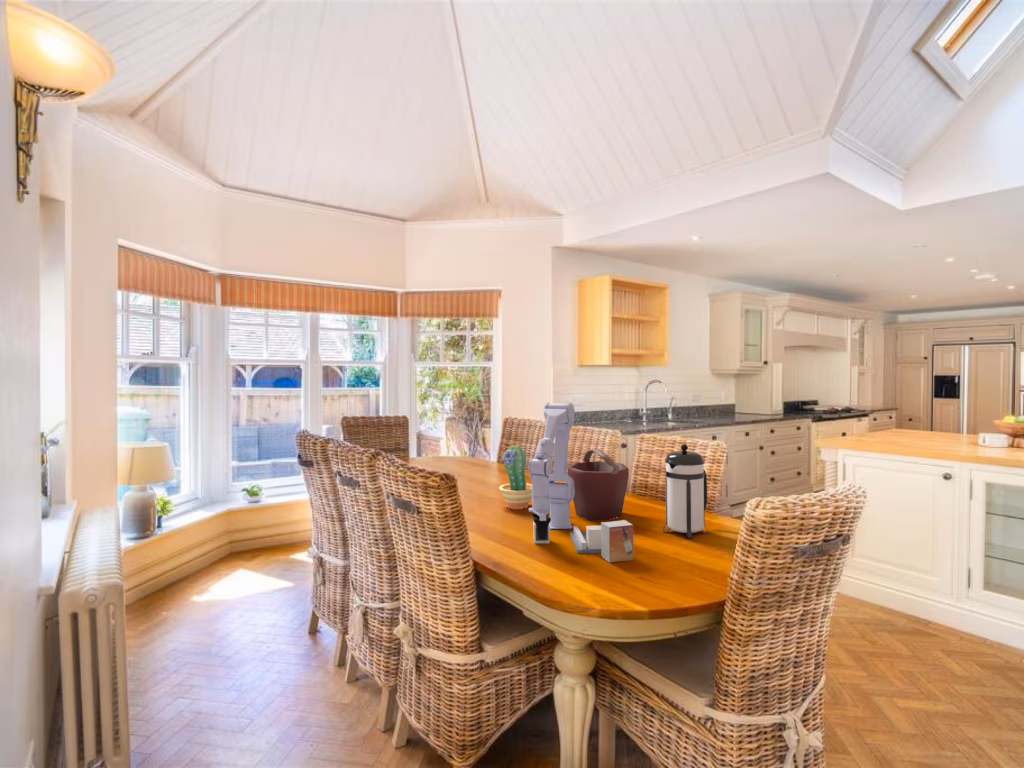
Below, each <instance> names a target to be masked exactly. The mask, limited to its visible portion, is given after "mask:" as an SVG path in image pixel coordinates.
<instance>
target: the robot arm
mask: <svg viewBox="0 0 1024 768" xmlns="http://www.w3.org/2000/svg"><path fill="white" fill-rule="evenodd" d="M575 414H576V413H575V406H574V404H573V403H572V402H546V403H545V404H544V408H543V415H544V419H545V427H544V431H543V437H542V438H541V439H539V440H538V444H537V446H536V449H535V453H534V456H533V458H532V459H531V460H529V463H528V470H527V471H528V474H529V480H530V481H531V484H532V499H531V507H528V512H529V513H530V512H531V514H532V515H531V516H532V519H533V521H534V522H535V524H536V527H537V532H538V537H539V539H546V534H547V528H548V525H549V527H550V530H562V529H563V530H567V529H569V530H570V529H573V525H572V522H571V502H572V501H573V498H574V494H575V488H574V480H573V479H572V478H571V477H570V476H569V475H568V455H569V438H570V429H571V428H572V427H574V424H575Z"/></svg>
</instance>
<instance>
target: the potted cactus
mask: <svg viewBox="0 0 1024 768" xmlns="http://www.w3.org/2000/svg"><path fill="white" fill-rule="evenodd" d="M501 458H502V460H503V465H504V466H503V467H504V468H505V471H506V473H507V476H508V480H509V483H505V484H501V485H500V486H499V487H498V490H499V493H501V495H502V498H503V500H504V501H505V503H506V507H508V508H507V509H510V508H511V510H524V509H523V508H525V509H527V508H529V507H528V506H529V503H530V502H531V501H532V483H531V484H530V483H528V482H526V472H525V471H526V469H527V467H526V466H527V454H526V451H525V450H523V448H522V446H520V445H517V444H516V445H510V446H508V448H507V450H506V451H505V452H503V455H502V456H501Z"/></svg>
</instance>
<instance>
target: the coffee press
mask: <svg viewBox="0 0 1024 768" xmlns="http://www.w3.org/2000/svg"><path fill="white" fill-rule="evenodd" d="M680 449H681V450H674V451H671V452H669V453H667V455H666V457H665V458H664V462H665V472H664V473H665V477H664V478H665V480H664V481H665V484H664V485H665V524H664V526H663V527H662V529H661V531H662V532H663V533H664V531H666V533H668V531H670V530H672V531H675V532H678V533H685V534H686V539H687V540H692V539H693V534H692V533H698V532H699V533H700V531H702V533H704V534H709V530H708V528H707V527H706V523H705V521H706V520H705V517H706V516H705V510H706V508H707V503H708V477H707V473H706V470H705V469H704V466H705V462H706V461H705V459H704V458H703V457H704V456H703V455H701V454H700V453H698V452H695V451H691V450H689V451H688V449H689V447H688V445H687V444H685V443H684V444H683V443H682V445H681V446H680ZM666 527H668V528H667V529H666V530H665V528H666ZM704 528H705V529H706V531H704V530H703V529H704ZM705 532H706V533H705Z"/></svg>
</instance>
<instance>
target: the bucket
mask: <svg viewBox="0 0 1024 768" xmlns="http://www.w3.org/2000/svg"><path fill="white" fill-rule="evenodd" d="M594 453H595V454H596V455H598V456H599V457H600V458H601V459H603V461H601V460H597V461H591V457H592V455H593V454H594ZM629 469H630V468H629V467H627V466H626V465H625V464H624V463H620V462H615V461H614V460H613V459H612V458H611V456H609V455H608V454H607V453H605V451H603V450H601V449H599V448H593V449H592V448H591V449H588V450H586V452H585V453H584V455H583V459H582V461H579V462H575V463H572V464H571V465H569V466H567V474H568V475H569V476H570V477H571V478H572V479H573V480H574V488H575V494H574V498H573V500H572V501H573V505H574V510H575V515H576V516H577V515H578V516H577V517H579V516H580V518H582V517H583V518H582V519H584V518H585V519H584V520H586V519H587V520H586V521H596V520H610V519H613V518H616V517H620V516H621V517H622V514H623V509H624V504H625V503H624V502H625V499H626V494H627V487H628V482H629V477H630V476H629V475H630V474H629V472H630V471H629ZM621 517H620V518H621ZM616 519H617V518H616ZM613 520H614V519H613ZM610 521H611V520H610Z"/></svg>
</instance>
